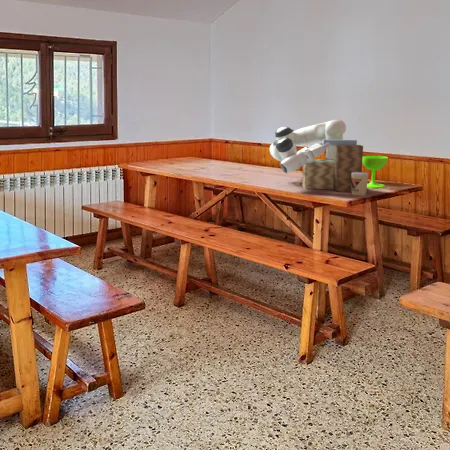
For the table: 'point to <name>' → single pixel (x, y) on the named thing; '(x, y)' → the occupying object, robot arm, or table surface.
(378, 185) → the wineglass
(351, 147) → the tall brown box
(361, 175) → the coffee cup
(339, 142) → the batten
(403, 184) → the table surface
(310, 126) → the robot arm
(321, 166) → the zigzag patterned box
